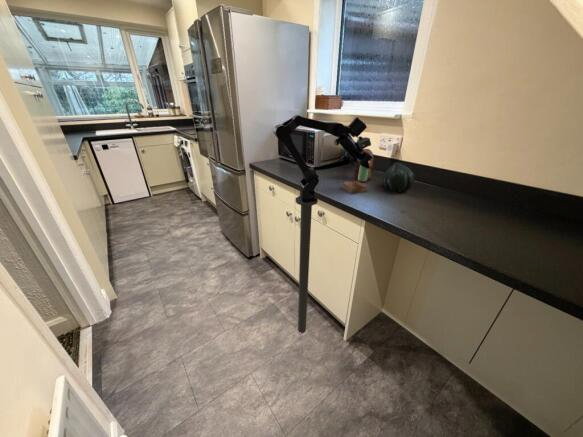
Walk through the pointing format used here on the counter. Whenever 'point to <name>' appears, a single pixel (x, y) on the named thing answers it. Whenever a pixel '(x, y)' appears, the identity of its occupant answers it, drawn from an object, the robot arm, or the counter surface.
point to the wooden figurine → (359, 167)
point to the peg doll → (363, 173)
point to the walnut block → (354, 187)
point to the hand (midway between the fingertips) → (366, 166)
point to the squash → (398, 178)
